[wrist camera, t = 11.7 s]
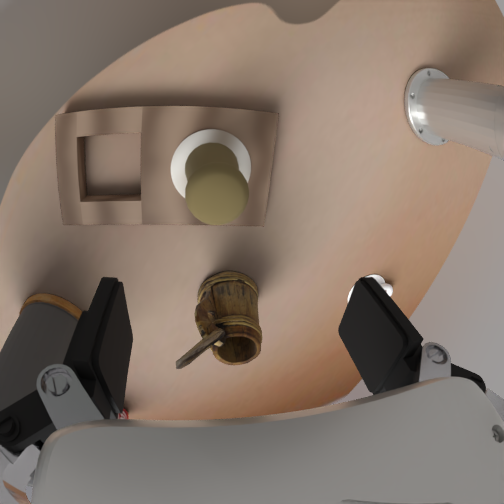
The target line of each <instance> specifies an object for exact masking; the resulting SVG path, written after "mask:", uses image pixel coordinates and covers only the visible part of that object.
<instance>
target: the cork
mask: <svg viewBox="0 0 504 504" xmlns="http://www.w3.org/2000/svg"><path fill="white" fill-rule="evenodd" d="M185 175H186V178H187V181H188V182H187V185H186V188H185V200H186V203H187V206H188V209H189V210H190V211H191V213H192V214H193V215H194V216H195V217H196V218H197V219H199V220H200V221H201V222H203V223H206V224H210V225H223V224H227V223H230V222H232V221H233V220H235V219H236V218H238V217H239V216H240V215H241V214H242V212H243V211H244V210H245V208H246V205H247V203H248V199H249V187H248V183H247V180H246V179H245V177H244V176H243V174H242V173H241V171H239V165H238V161H237V157H236V156H235V154H234V153H233V151H232V150H231V149H229V148H228V147H227V146H225V145H223V144H220V143H211V142H209V143H205V144H202V145H200V146H198V147H197V148H195V149H194V150H193V151H192V152H191V153H190V154H189V156H188V158H187V160H186V163H185Z"/></svg>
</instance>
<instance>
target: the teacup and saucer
mask: <svg viewBox="0 0 504 504" xmlns="http://www.w3.org/2000/svg"><path fill="white" fill-rule="evenodd" d="M366 277H373V278H375V279H376V281H377V282H378V283H379V284H380V285H381V286H382V288H383V289H384V290H387V291H386V292H387V294H388V295H389V296H391V295H392V292H393V288H392V286H391V285H390V284H387V283H385V280H384V279H383V277H381V276H380V275H369V276H366ZM353 288H354V286H353V287H352V289H351V291H350V293H349V295H348V302H349V299H350V296H351V294H352V291H353Z"/></svg>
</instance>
